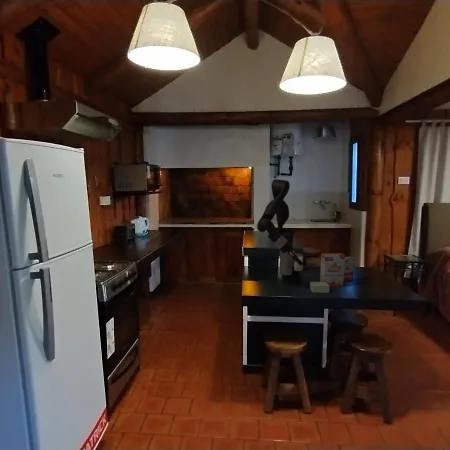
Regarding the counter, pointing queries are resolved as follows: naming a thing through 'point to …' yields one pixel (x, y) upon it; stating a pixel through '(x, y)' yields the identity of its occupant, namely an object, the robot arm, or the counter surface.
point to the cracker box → (332, 269)
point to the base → (319, 287)
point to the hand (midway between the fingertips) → (301, 263)
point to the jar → (296, 265)
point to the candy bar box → (348, 269)
